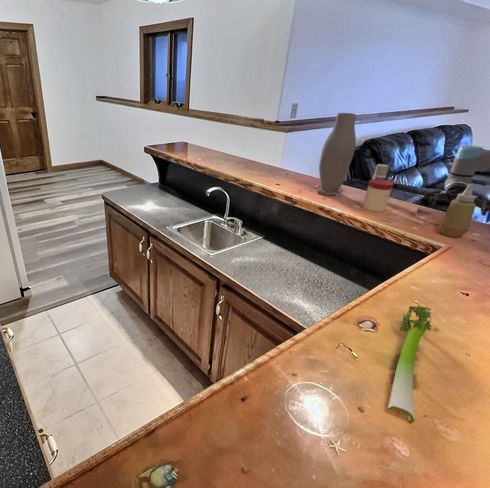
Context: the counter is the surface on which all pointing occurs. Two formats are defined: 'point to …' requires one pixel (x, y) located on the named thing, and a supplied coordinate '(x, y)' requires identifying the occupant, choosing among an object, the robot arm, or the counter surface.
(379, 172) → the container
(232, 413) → the counter surface
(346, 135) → the vase
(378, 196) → the jar
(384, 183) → the lid
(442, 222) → the squeeze bottle
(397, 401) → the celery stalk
